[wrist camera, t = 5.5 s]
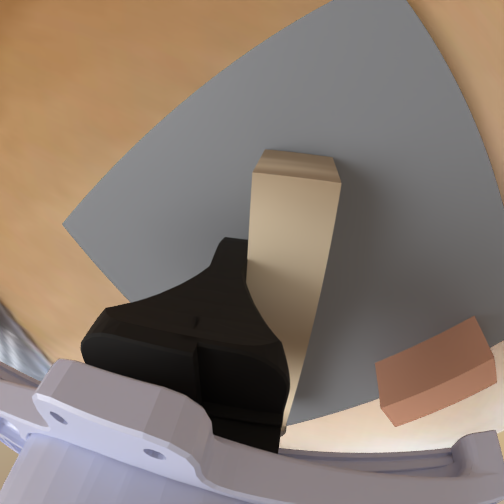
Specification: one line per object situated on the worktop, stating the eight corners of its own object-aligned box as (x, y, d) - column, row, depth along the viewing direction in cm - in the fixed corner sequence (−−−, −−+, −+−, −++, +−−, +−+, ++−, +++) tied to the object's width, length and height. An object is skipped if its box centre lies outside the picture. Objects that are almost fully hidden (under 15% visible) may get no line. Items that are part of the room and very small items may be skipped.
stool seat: (509, 307, 15) (541, 364, 11) (276, 407, 22) (267, 464, 18) (375, -12, 9) (410, -53, 5) (82, 208, 16) (25, 253, 12)
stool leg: (287, 399, 18) (282, 441, 16) (244, 394, 18) (236, 435, 16) (335, 157, 11) (345, 183, 8) (262, 148, 11) (248, 171, 9)
